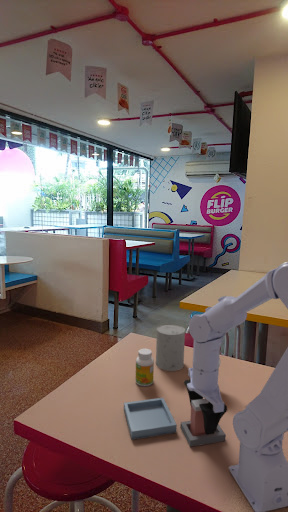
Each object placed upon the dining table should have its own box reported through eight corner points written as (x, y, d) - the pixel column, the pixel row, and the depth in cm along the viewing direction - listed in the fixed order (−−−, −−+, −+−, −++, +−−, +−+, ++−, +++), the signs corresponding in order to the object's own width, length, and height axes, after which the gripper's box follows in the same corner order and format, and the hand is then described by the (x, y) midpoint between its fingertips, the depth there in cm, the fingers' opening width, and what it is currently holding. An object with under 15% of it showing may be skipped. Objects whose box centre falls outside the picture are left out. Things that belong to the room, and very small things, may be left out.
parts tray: (176, 432, 70) (176, 424, 69) (131, 439, 67) (131, 431, 67) (163, 404, 80) (163, 397, 80) (123, 409, 77) (123, 402, 77)
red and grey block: (214, 436, 69) (216, 404, 68) (194, 439, 68) (195, 407, 66) (209, 428, 71) (211, 397, 70) (190, 432, 70) (191, 400, 69)
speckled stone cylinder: (152, 368, 99) (153, 332, 97) (159, 355, 108) (160, 322, 106) (181, 373, 96) (182, 336, 94) (185, 359, 105) (187, 326, 103)
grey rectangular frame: (225, 440, 67) (225, 434, 67) (189, 446, 65) (190, 440, 65) (213, 422, 73) (213, 417, 73) (180, 427, 71) (180, 422, 71)
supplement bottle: (132, 383, 89) (132, 352, 88) (140, 375, 94) (141, 345, 93) (148, 388, 87) (149, 357, 86) (156, 379, 92) (157, 349, 90)
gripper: (177, 352, 73) (175, 403, 75) (202, 385, 59) (199, 447, 61) (204, 350, 75) (201, 400, 77) (234, 381, 61) (230, 442, 63)
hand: (202, 421), depth 69 cm, fingers open, 7 cm apart
